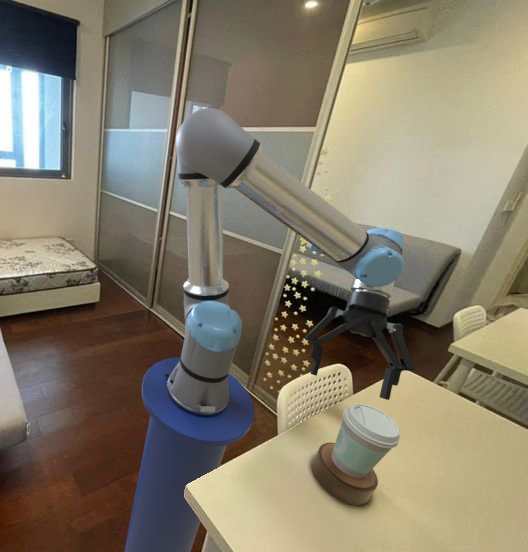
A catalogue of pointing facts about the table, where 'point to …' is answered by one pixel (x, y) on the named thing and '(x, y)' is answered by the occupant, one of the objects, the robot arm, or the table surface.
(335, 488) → the cup stand
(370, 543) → the table surface
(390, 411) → the table surface
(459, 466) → the table surface
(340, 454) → the coffee cup
